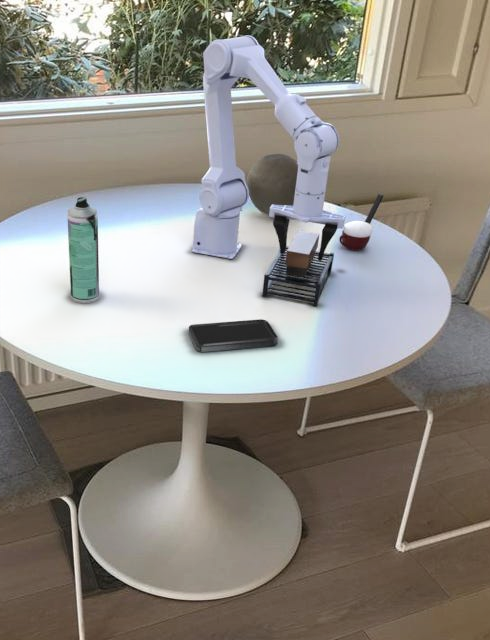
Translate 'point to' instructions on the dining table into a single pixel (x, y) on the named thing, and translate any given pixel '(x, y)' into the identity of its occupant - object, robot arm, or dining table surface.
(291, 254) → the shoe brush
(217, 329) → the phone
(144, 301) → the dining table surface
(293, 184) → the cantaloupe
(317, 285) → the shoe rack
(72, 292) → the spray can
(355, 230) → the cocoa
